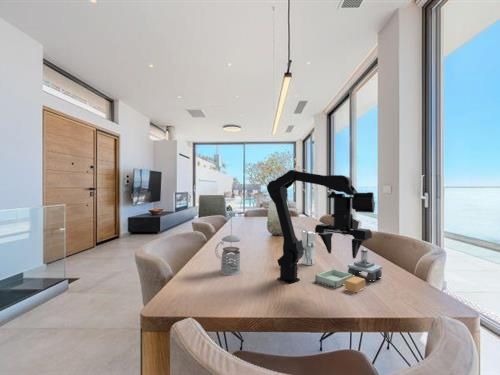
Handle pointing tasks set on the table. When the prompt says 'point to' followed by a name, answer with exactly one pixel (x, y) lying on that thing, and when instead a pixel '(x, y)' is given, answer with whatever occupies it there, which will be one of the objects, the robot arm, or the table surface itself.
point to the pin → (364, 256)
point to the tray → (333, 277)
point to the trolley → (366, 269)
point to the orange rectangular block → (354, 284)
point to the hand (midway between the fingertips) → (341, 255)
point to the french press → (230, 256)
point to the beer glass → (308, 247)
